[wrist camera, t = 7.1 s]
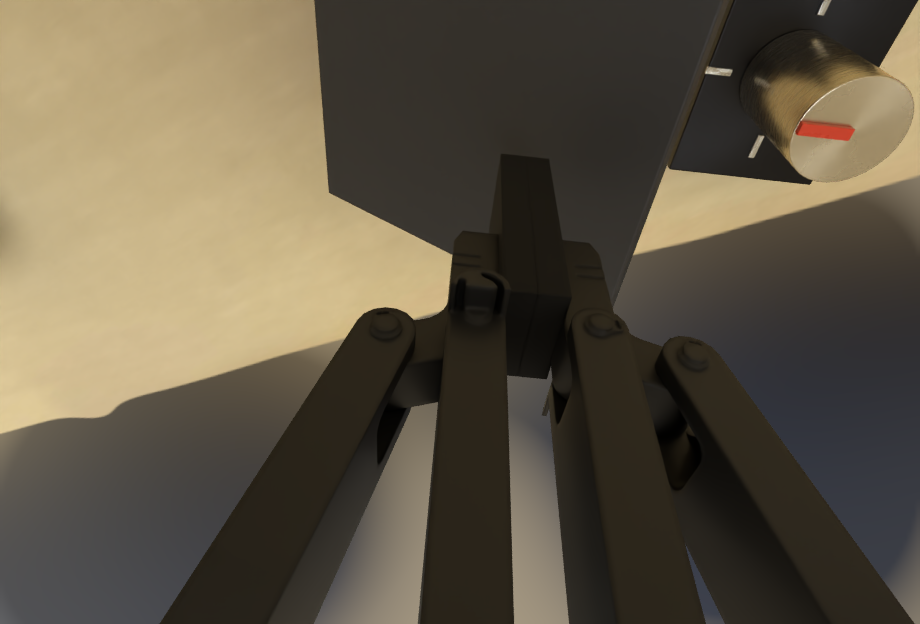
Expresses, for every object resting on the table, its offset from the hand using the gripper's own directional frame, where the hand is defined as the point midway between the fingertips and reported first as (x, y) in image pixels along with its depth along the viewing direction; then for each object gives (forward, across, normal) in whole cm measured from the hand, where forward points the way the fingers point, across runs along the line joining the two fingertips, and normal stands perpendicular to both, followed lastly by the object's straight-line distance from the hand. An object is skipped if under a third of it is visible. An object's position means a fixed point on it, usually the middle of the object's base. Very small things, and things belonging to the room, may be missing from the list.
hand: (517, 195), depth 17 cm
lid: (+6, -2, 0) cm, 6 cm away
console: (+19, +16, 0) cm, 24 cm away
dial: (+16, +15, 0) cm, 22 cm away
